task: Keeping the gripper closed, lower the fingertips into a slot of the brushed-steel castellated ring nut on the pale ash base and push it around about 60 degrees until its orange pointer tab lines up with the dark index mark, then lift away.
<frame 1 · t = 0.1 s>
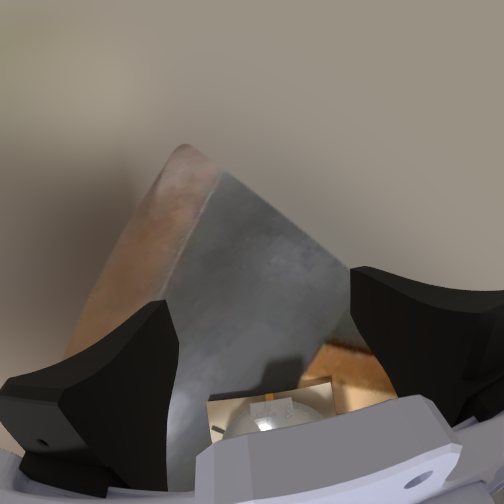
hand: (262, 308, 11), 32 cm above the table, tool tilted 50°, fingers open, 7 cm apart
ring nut: (278, 451, 31), point 3 cm above the table, hinge at 0.0°
nut base: (278, 451, 34), on the table
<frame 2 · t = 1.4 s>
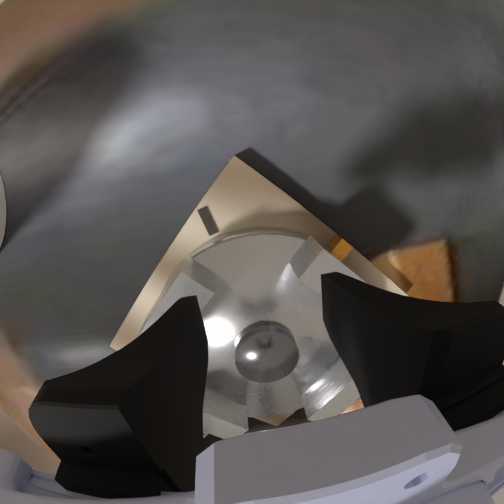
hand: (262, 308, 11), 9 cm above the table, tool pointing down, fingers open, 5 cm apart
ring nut: (269, 343, 19), point 3 cm above the table, hinge at 0.0°
nut base: (259, 320, 22), on the table
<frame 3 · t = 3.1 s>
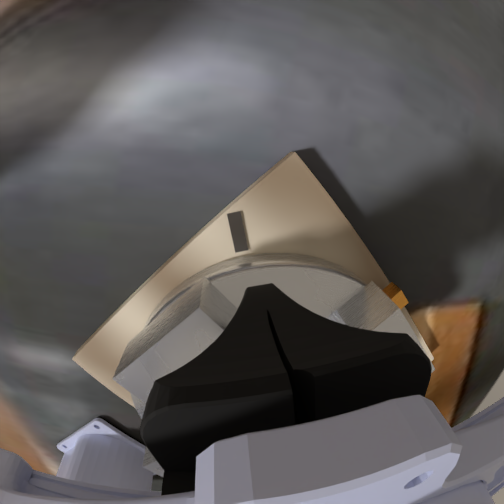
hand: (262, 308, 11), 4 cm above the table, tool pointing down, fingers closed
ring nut: (282, 401, 14), point 3 cm above the table, hinge at 0.0°, touching gripper
nut base: (266, 364, 17), on the table
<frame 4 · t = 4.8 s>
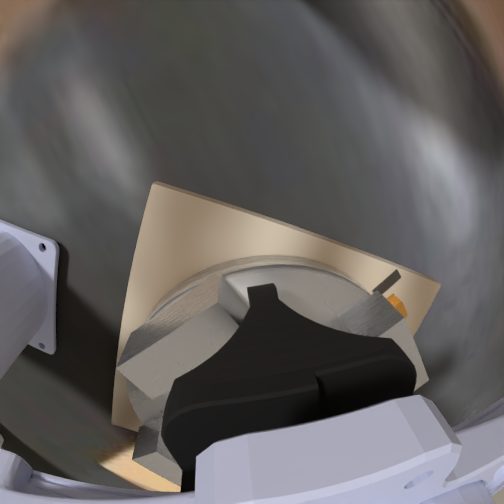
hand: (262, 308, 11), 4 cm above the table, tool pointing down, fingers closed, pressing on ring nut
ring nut: (279, 401, 14), point 3 cm above the table, hinge at 54.8°, touching gripper
nut base: (263, 365, 17), on the table
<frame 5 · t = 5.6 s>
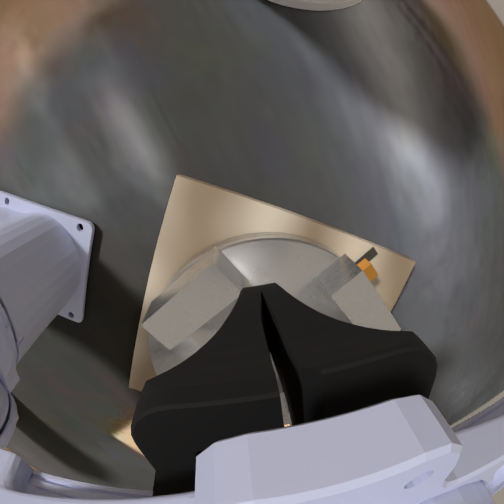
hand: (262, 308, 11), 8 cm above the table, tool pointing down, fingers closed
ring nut: (275, 354, 18), point 3 cm above the table, hinge at 59.9°
nut base: (263, 329, 21), on the table
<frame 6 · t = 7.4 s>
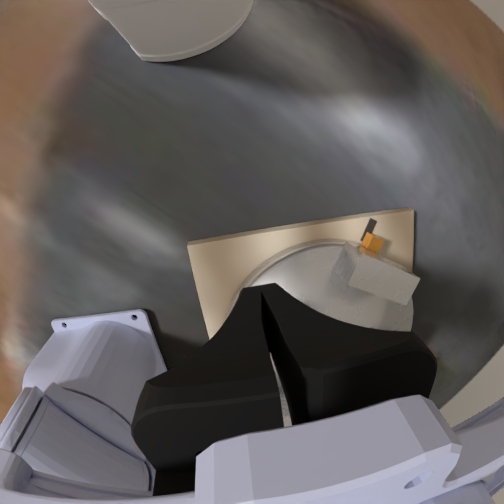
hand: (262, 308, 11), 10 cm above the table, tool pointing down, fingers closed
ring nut: (331, 341, 21), point 3 cm above the table, hinge at 59.9°
nut base: (315, 323, 24), on the table
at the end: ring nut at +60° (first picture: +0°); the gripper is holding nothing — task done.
